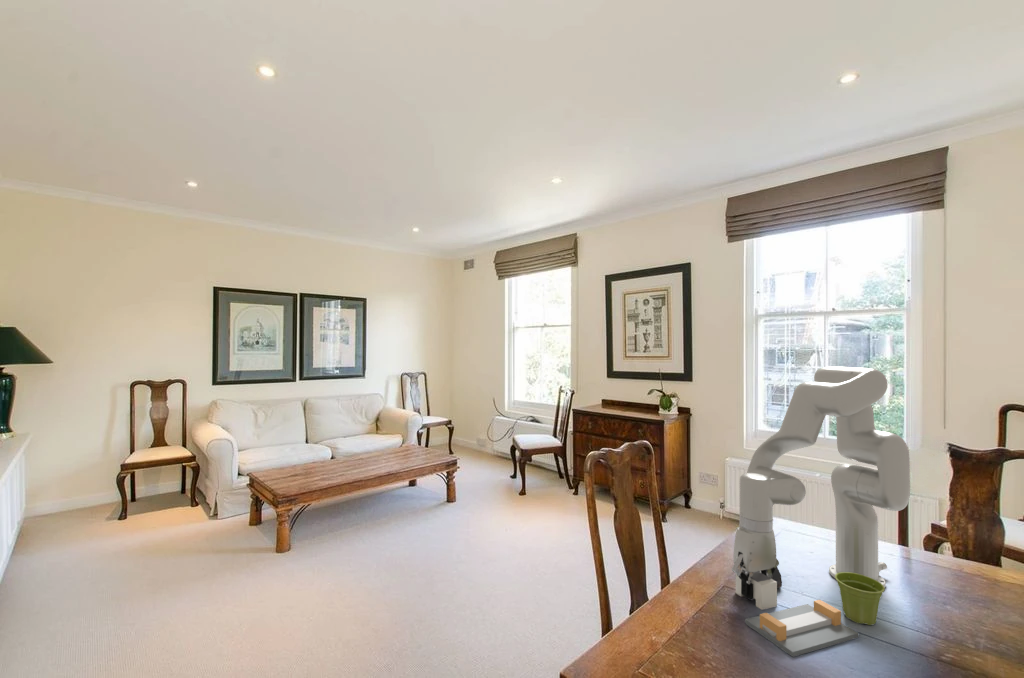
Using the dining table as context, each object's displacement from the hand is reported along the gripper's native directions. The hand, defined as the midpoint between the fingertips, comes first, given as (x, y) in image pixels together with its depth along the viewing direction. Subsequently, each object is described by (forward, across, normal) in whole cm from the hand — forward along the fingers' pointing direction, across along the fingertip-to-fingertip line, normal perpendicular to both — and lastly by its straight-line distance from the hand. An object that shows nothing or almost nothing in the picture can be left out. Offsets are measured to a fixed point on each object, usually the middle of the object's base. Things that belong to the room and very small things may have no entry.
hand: (755, 594), depth 115 cm
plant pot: (+2, -17, +14) cm, 22 cm away
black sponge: (+2, -12, -9) cm, 15 cm away
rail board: (+1, +1, +13) cm, 13 cm away
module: (+1, 0, 0) cm, 1 cm away
